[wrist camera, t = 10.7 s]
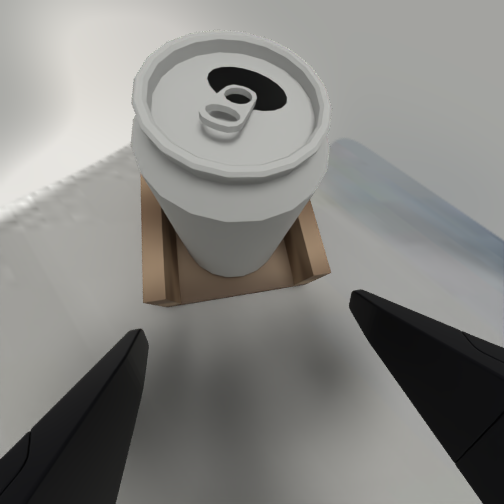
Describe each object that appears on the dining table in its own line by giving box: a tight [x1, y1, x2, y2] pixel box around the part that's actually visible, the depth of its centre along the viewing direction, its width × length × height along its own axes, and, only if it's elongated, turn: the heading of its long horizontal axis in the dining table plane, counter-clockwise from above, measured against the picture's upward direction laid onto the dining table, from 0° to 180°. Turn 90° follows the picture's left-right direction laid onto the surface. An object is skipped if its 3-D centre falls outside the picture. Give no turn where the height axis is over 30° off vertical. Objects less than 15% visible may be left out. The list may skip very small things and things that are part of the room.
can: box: [131, 30, 332, 277], centre depth 12 cm, size 8×8×12 cm
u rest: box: [141, 174, 331, 307], centre depth 16 cm, size 11×11×5 cm
